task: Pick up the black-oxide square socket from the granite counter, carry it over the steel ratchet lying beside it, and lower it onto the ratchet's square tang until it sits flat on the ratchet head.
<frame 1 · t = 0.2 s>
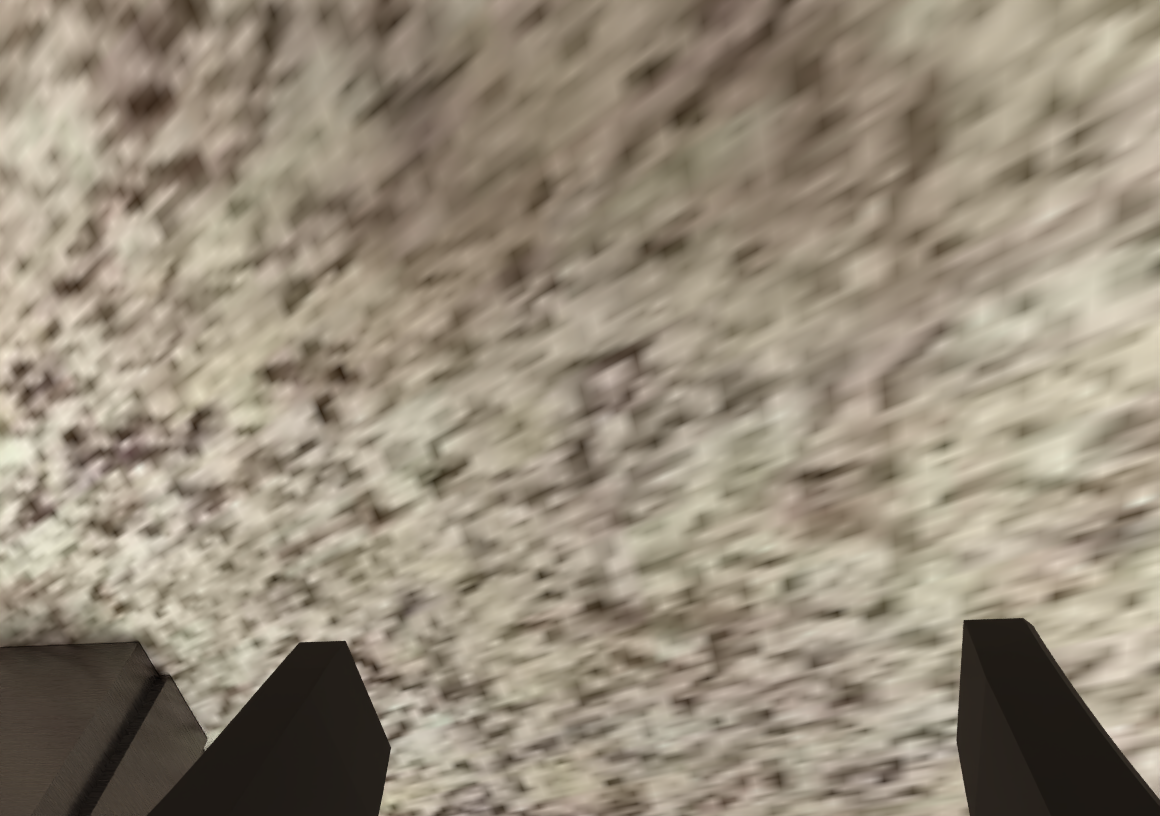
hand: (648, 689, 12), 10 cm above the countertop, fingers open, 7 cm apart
socket: (103, 710, 30), on the countertop
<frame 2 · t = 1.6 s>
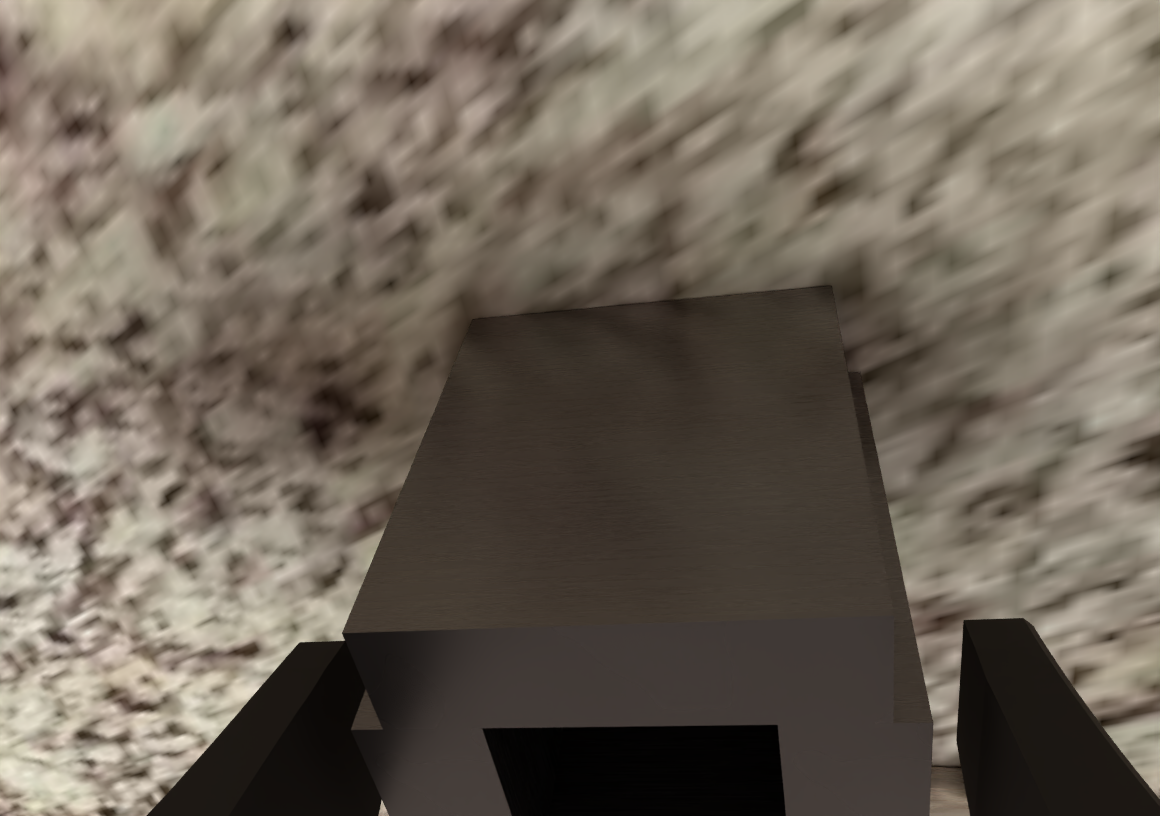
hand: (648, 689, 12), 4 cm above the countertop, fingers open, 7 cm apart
socket: (670, 466, 15), on the countertop
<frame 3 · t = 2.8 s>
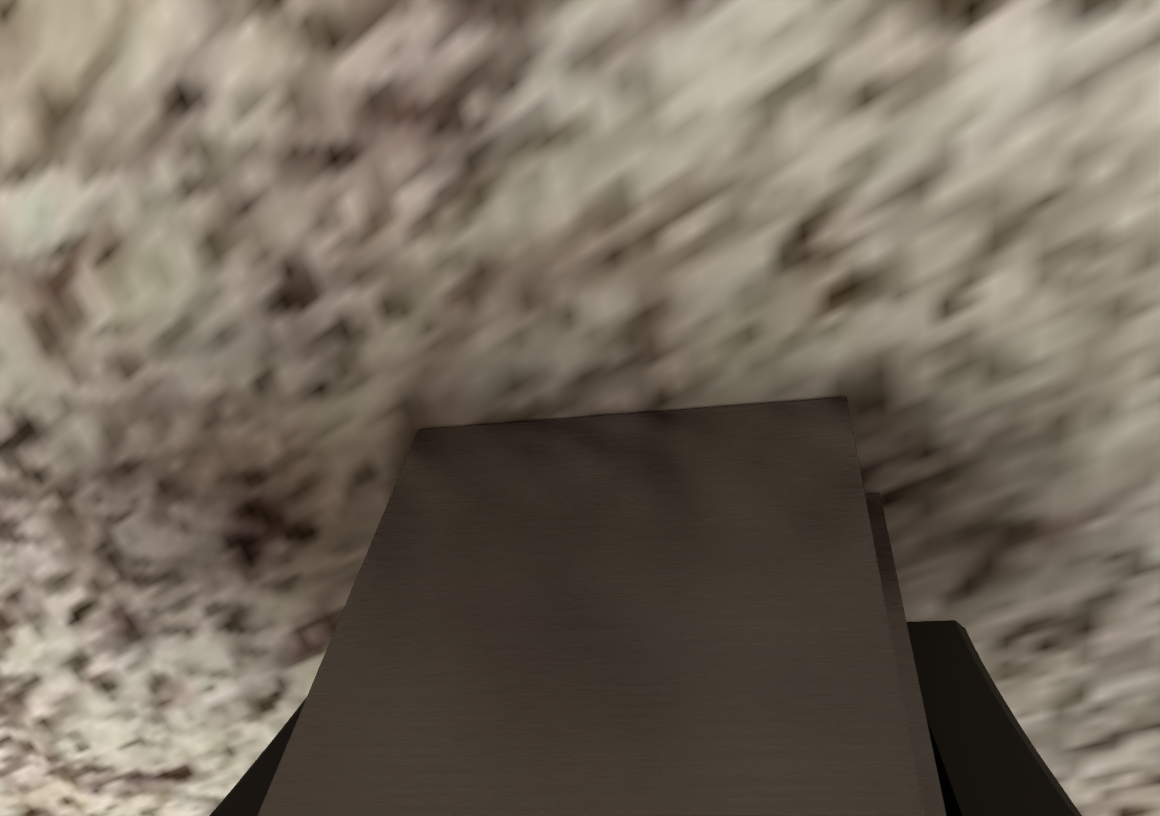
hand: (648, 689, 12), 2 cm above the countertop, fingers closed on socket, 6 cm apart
socket: (655, 591, 13), on the countertop, touching gripper
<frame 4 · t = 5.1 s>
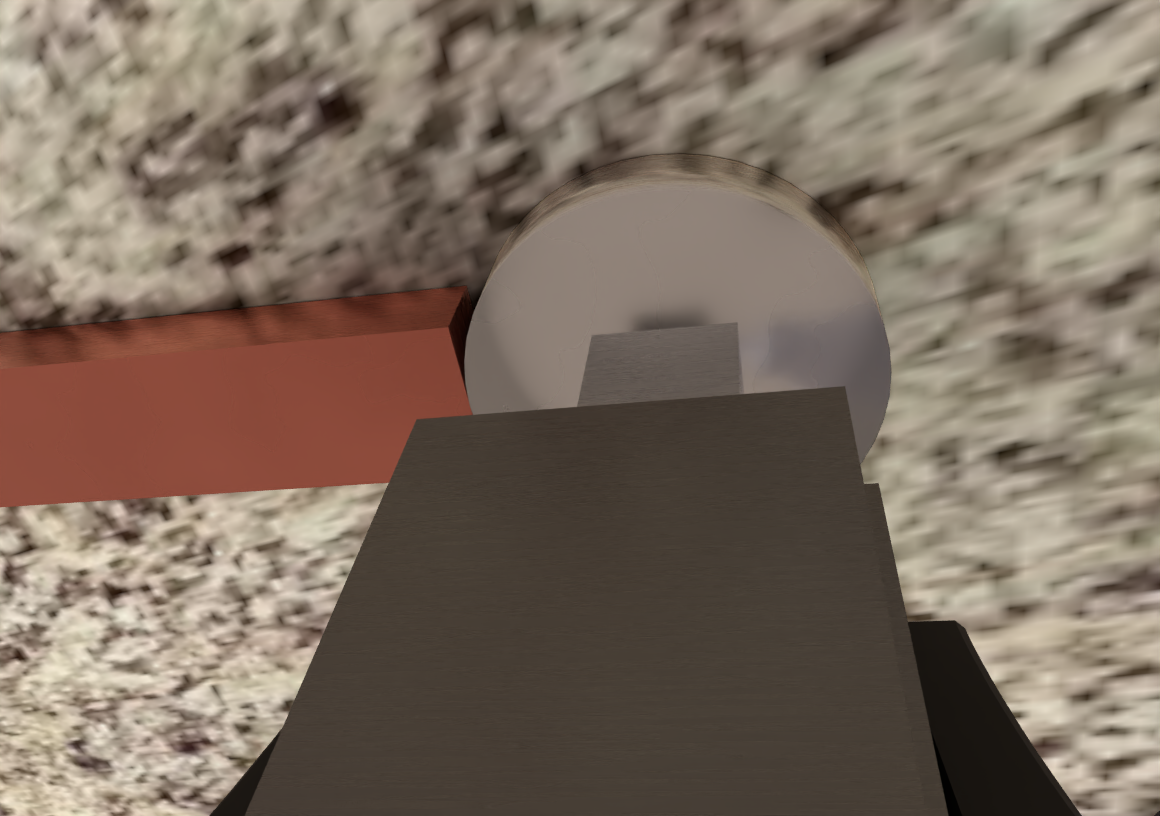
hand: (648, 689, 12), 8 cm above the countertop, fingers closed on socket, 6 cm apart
socket: (653, 583, 13), point 6 cm above the countertop, touching gripper
ratchet: (675, 344, 18), on the countertop
when the fingers open (3 cm above the countertop, at t = 7.3 s): socket stays where it is, resting on ratchet.
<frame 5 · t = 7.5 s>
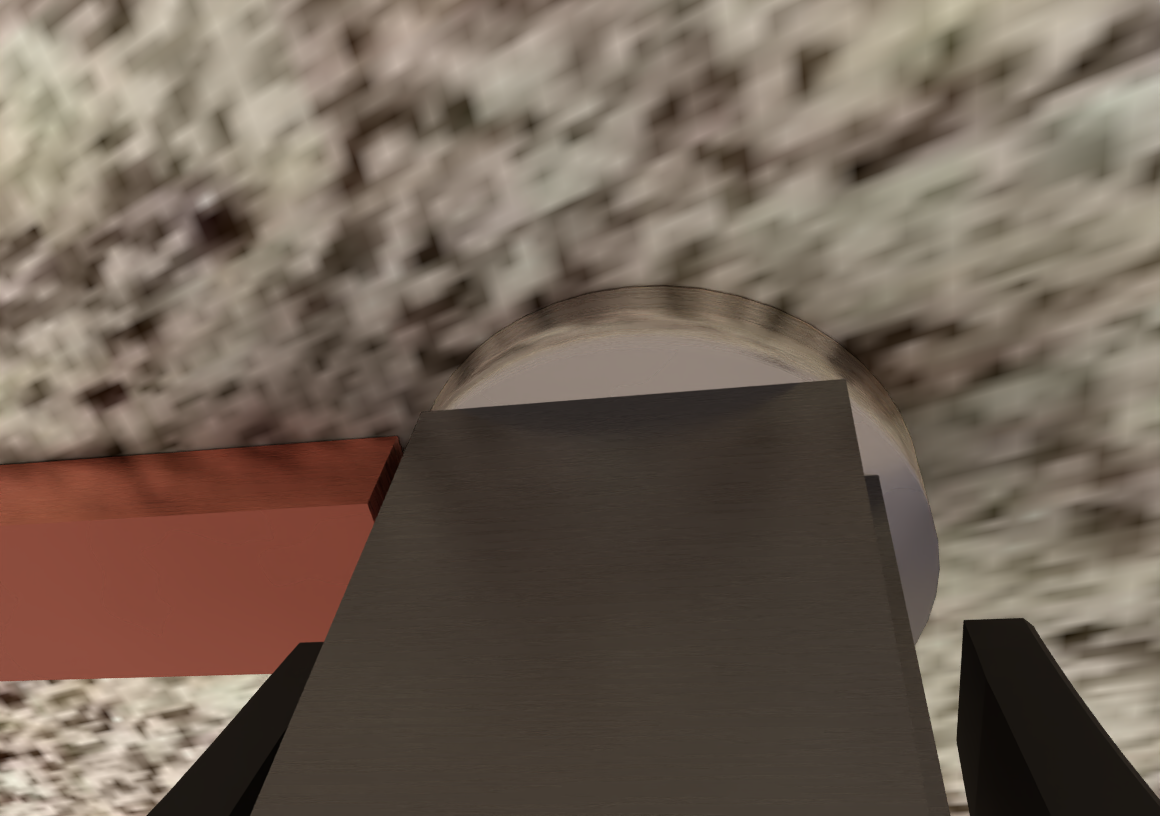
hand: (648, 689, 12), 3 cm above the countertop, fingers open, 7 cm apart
socket: (655, 574, 13), point 1 cm above the countertop, touching ratchet
ratchet: (661, 507, 15), on the countertop
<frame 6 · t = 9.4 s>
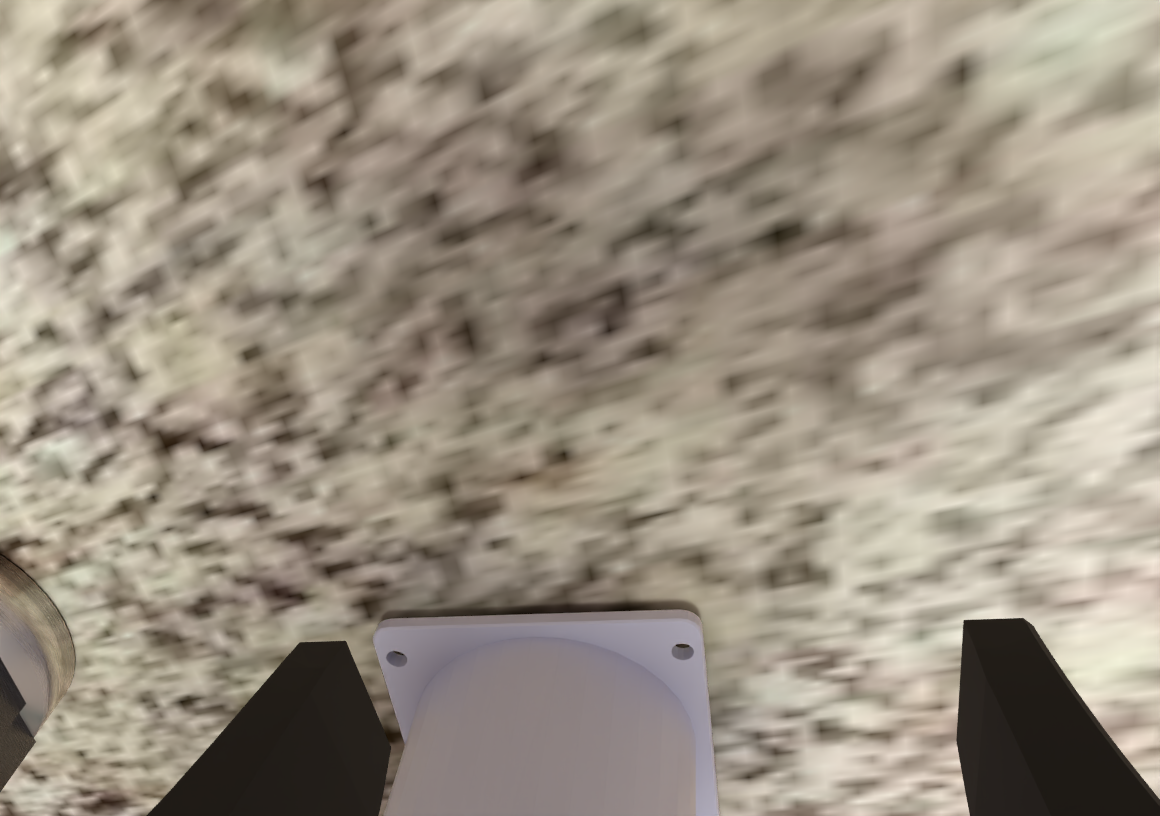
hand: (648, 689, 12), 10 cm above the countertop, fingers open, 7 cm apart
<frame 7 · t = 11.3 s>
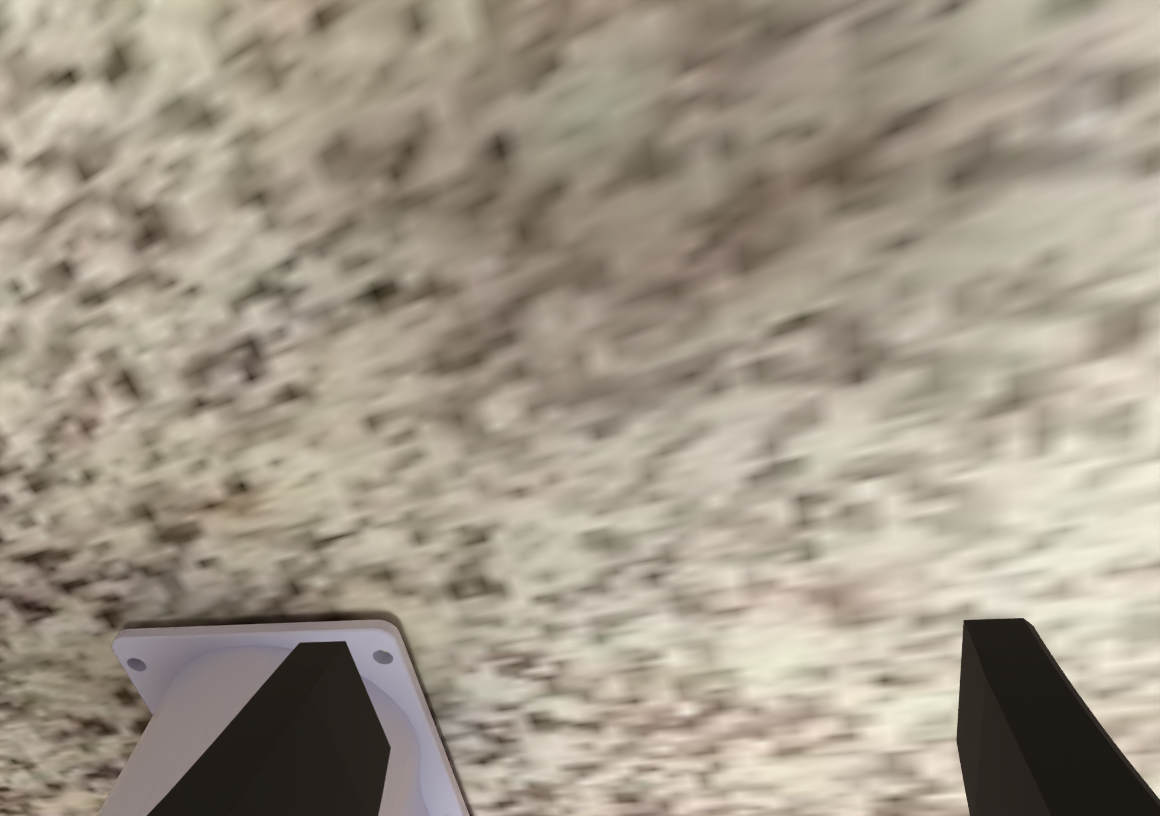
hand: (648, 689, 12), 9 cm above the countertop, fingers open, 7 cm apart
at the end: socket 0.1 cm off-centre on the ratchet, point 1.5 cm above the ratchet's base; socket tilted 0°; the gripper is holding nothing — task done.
